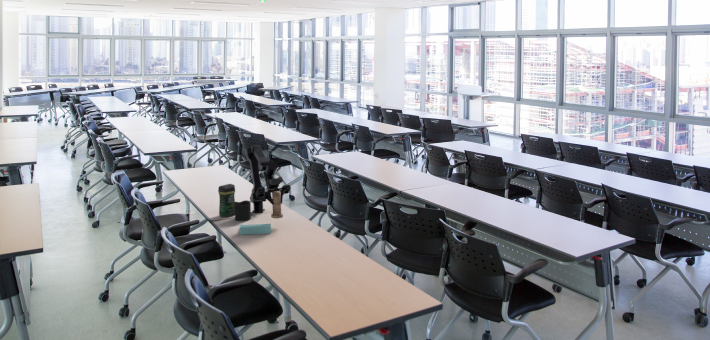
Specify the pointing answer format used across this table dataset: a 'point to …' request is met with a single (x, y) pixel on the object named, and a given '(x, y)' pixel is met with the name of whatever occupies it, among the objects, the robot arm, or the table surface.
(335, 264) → the table surface
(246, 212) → the pen holder
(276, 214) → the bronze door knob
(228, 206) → the coffee jar
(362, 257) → the table surface
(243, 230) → the notched board
